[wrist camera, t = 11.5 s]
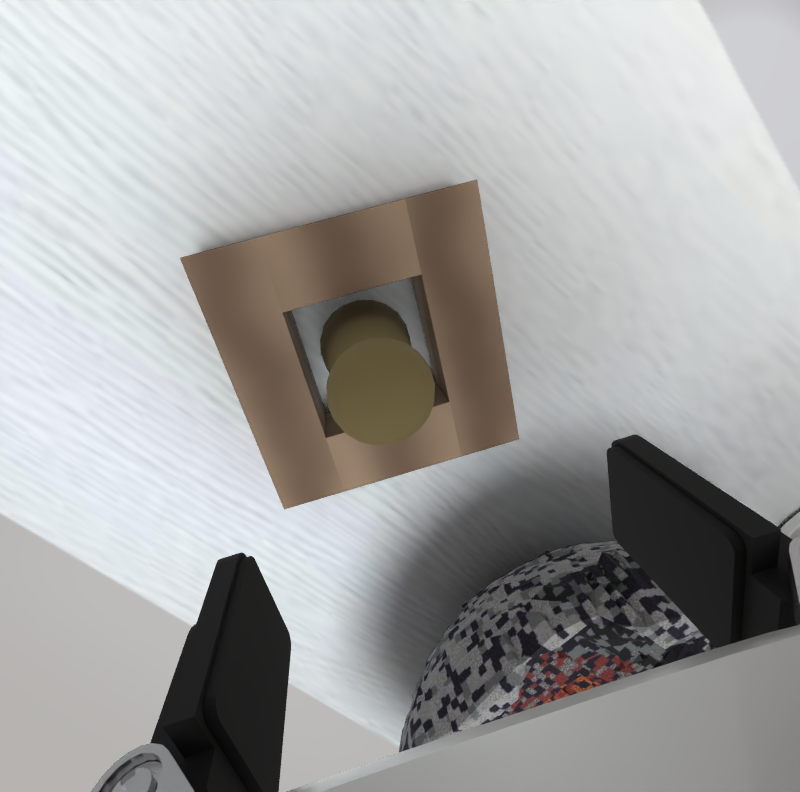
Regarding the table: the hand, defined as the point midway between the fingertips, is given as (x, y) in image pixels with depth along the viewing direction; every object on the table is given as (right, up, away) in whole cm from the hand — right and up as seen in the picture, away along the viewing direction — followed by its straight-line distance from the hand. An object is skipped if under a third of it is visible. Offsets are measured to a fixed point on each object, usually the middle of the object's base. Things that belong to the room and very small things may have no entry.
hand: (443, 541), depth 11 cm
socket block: (-3, +7, +19) cm, 20 cm away
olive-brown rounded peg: (-3, +7, +19) cm, 21 cm away
